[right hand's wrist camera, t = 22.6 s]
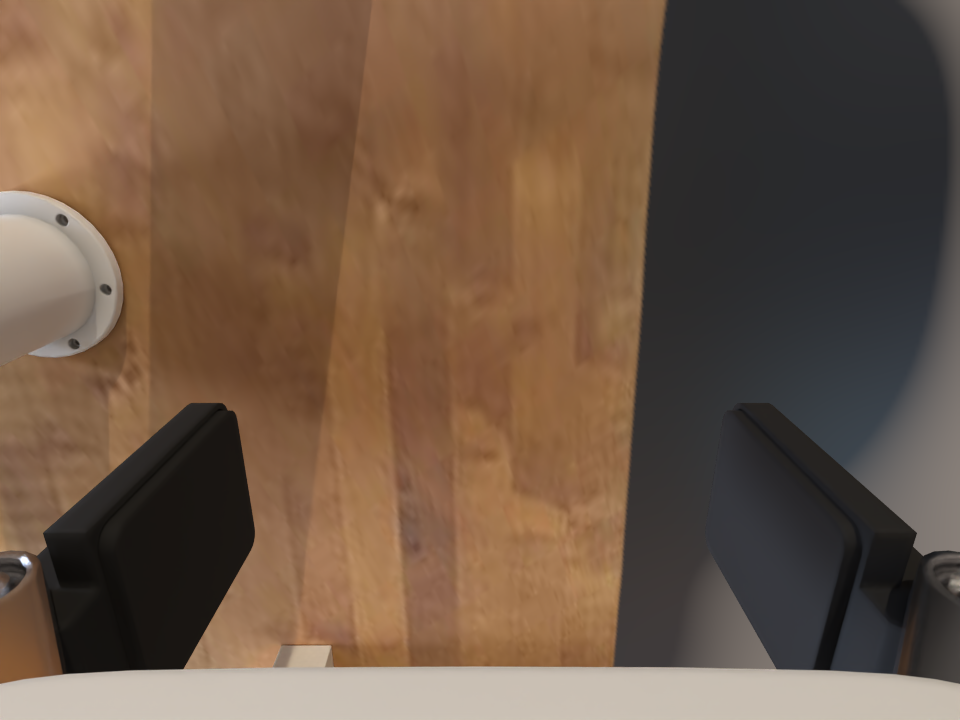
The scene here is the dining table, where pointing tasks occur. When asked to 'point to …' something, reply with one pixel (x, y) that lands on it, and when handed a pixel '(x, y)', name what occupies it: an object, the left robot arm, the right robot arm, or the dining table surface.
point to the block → (304, 656)
